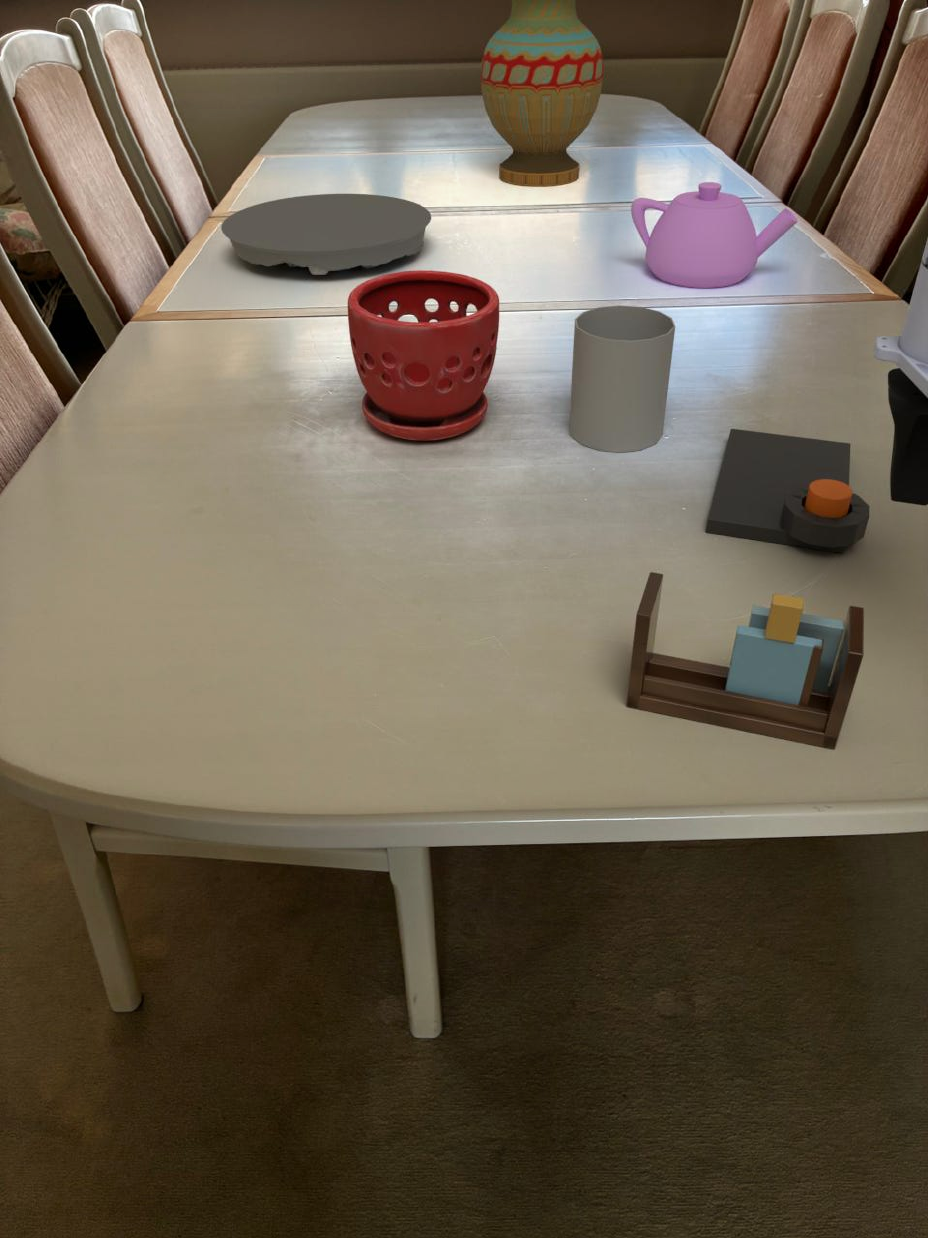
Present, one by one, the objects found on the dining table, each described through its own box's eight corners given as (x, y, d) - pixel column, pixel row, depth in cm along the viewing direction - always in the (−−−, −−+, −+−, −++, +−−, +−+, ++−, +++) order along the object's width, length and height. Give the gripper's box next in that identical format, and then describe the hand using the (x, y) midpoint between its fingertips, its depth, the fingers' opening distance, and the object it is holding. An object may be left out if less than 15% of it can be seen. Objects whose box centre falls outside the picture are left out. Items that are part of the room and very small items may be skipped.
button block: (728, 440, 85) (734, 409, 83) (861, 457, 82) (870, 425, 80) (702, 542, 72) (708, 507, 70) (859, 566, 69) (869, 531, 67)
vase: (619, 173, 165) (635, -37, 147) (549, 197, 153) (556, -29, 135) (529, 158, 176) (534, -40, 157) (457, 179, 164) (453, -33, 146)
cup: (667, 452, 83) (681, 340, 77) (573, 452, 84) (579, 341, 78) (654, 410, 90) (666, 304, 84) (566, 411, 90) (572, 305, 84)
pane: (805, 705, 56) (833, 602, 51) (804, 717, 55) (833, 613, 50) (725, 689, 57) (745, 588, 52) (723, 700, 56) (743, 598, 52)
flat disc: (423, 220, 143) (422, 189, 141) (442, 280, 121) (441, 244, 119) (234, 230, 141) (229, 198, 138) (218, 293, 119) (212, 256, 116)
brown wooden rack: (837, 700, 58) (864, 607, 54) (835, 750, 54) (863, 655, 50) (639, 662, 61) (650, 571, 57) (625, 706, 58) (636, 613, 53)
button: (805, 496, 72) (810, 476, 71) (847, 502, 71) (853, 481, 70) (803, 516, 70) (808, 495, 69) (846, 523, 69) (852, 501, 68)
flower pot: (331, 438, 87) (317, 307, 79) (398, 383, 96) (390, 261, 89) (463, 465, 82) (460, 328, 75) (519, 404, 92) (522, 278, 84)
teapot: (787, 296, 114) (805, 202, 108) (619, 286, 118) (627, 194, 112) (786, 261, 125) (802, 173, 118) (632, 253, 129) (639, 167, 123)
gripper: (895, 221, 55) (841, 435, 64) (900, 307, 45) (834, 550, 53) (1029, 231, 54) (956, 450, 62) (1069, 323, 43) (973, 572, 51)
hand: (908, 497), depth 57 cm, fingers closed
